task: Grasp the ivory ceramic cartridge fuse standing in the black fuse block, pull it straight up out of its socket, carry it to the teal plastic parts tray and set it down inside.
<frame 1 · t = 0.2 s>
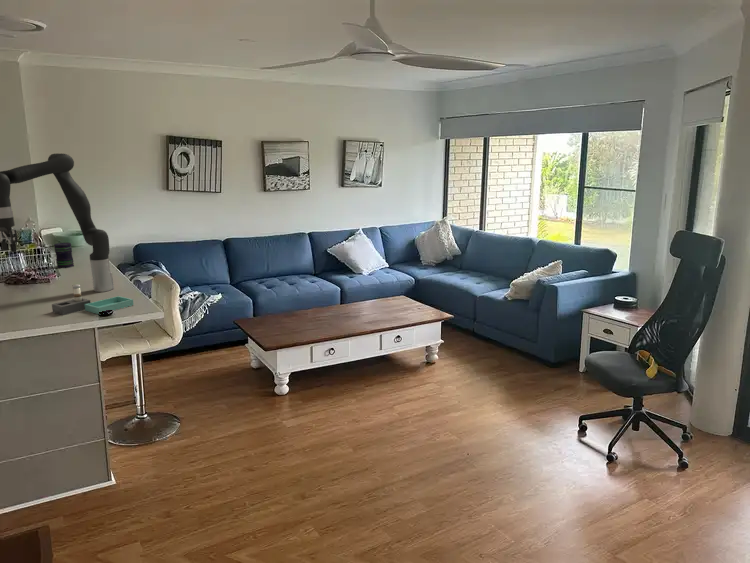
hand: (9, 250, 284), 29 cm above the table, fingers open, 8 cm apart
parts tray: (109, 307, 291), on the table
blown fuse: (78, 305, 291), point 2 cm above the table, touching fuse block
storage jar: (65, 266, 388), on the table
fuse block: (72, 310, 288), on the table
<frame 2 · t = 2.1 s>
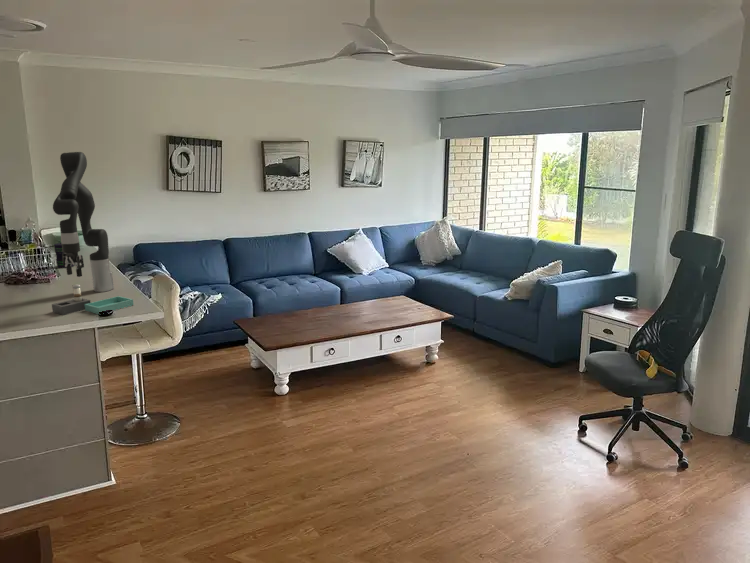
hand: (74, 275, 287), 16 cm above the table, fingers open, 8 cm apart
nothing on the table moved.
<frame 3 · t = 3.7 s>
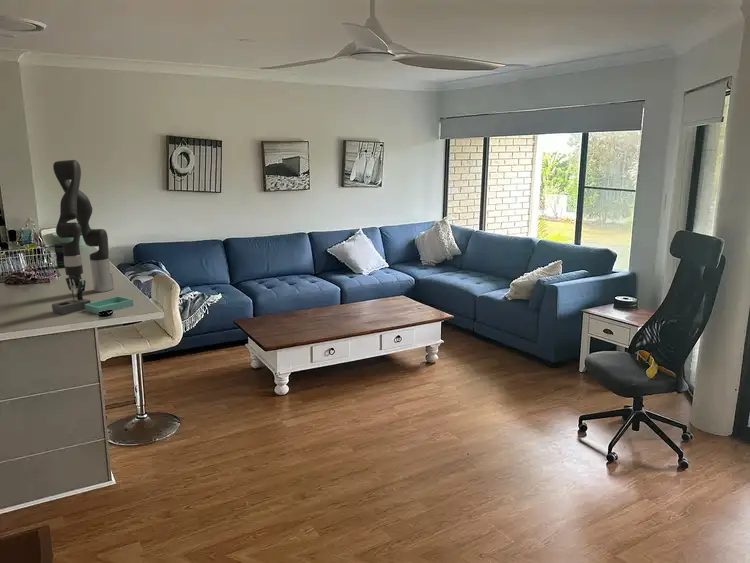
hand: (77, 299, 290), 5 cm above the table, fingers closed on blown fuse, 3 cm apart
blown fuse: (78, 305, 291), point 2 cm above the table, touching fuse block, gripper
everything else where it was.
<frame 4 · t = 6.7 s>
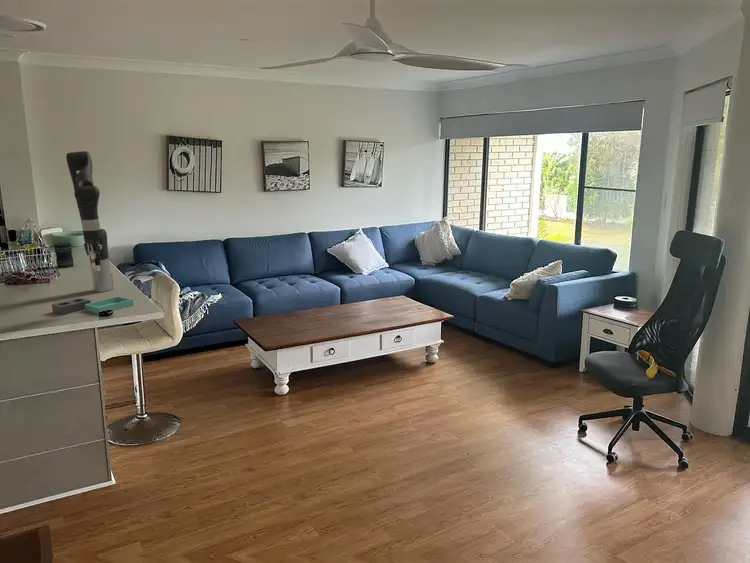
hand: (95, 264, 286), 22 cm above the table, fingers closed on blown fuse, 3 cm apart
blown fuse: (96, 271, 286), point 19 cm above the table, touching gripper
everything else where it was.
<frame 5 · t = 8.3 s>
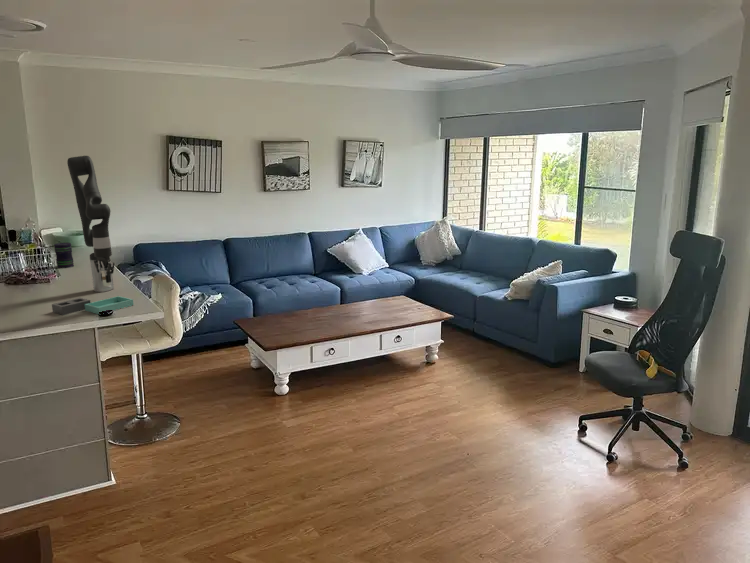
hand: (106, 281, 288), 13 cm above the table, fingers closed on blown fuse, 3 cm apart
blown fuse: (107, 288, 289), point 10 cm above the table, touching gripper
everything else where it was.
when the fingers open (5 cm above the table, at t = 9.7 s): blown fuse drops 2 cm, resting on parts tray.
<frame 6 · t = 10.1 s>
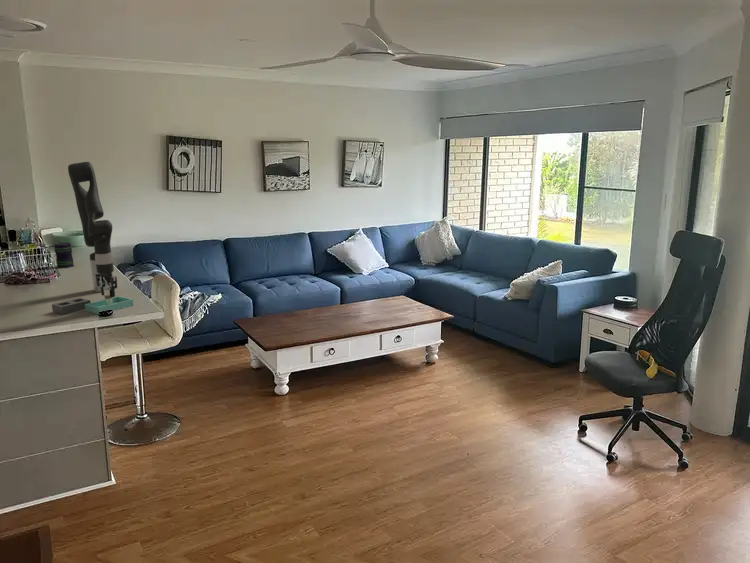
hand: (108, 296, 290), 6 cm above the table, fingers open, 6 cm apart
blown fuse: (109, 306, 291), point 1 cm above the table, touching parts tray
everything else where it was.
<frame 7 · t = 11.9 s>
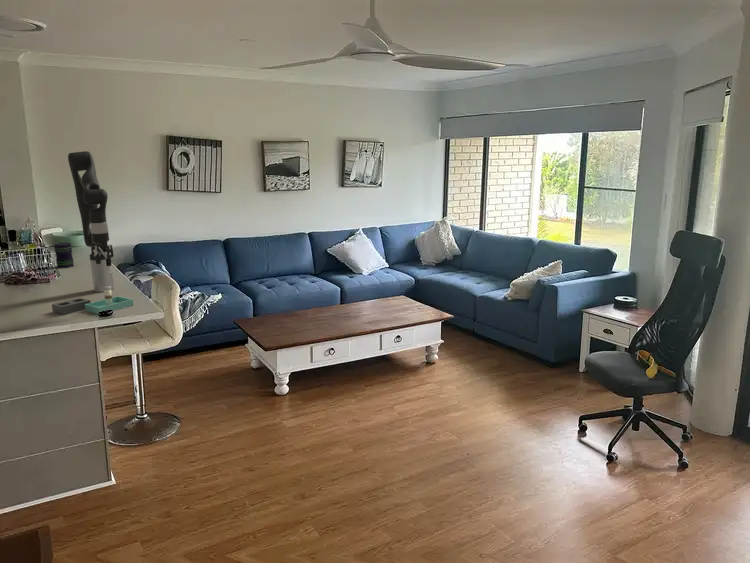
hand: (103, 265, 289), 21 cm above the table, fingers open, 8 cm apart
nothing on the table moved.
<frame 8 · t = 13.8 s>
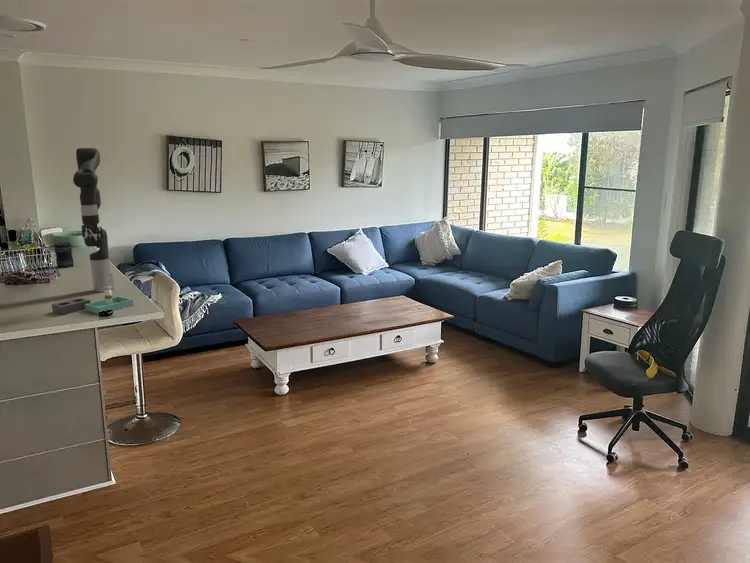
hand: (94, 246, 296), 28 cm above the table, fingers open, 8 cm apart
nothing on the table moved.
at the end: blown fuse inside the target area on the parts tray (0.1 cm from its centre), point 0.6 cm above the parts tray's base; the gripper is holding nothing; blown fuse moved 14.8 cm from its start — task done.
